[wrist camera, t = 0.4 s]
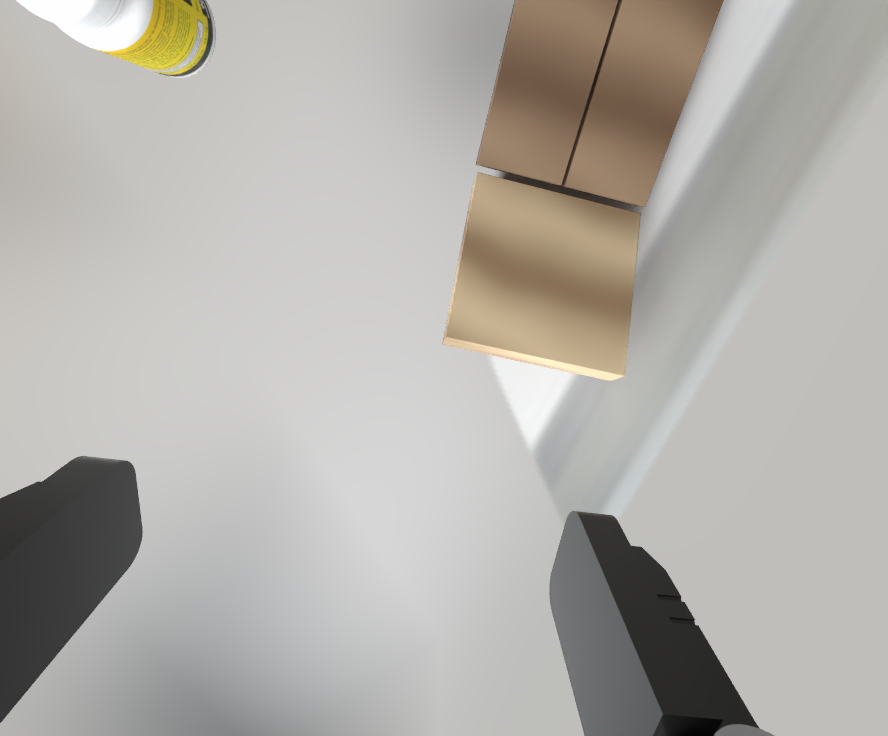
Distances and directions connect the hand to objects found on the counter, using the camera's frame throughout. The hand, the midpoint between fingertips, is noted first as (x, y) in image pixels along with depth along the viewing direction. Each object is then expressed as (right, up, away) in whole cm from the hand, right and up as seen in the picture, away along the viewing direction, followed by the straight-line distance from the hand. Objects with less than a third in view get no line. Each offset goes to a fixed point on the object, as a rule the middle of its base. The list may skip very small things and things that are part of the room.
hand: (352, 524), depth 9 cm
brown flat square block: (+9, +18, +17) cm, 26 cm away
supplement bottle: (-12, +21, +16) cm, 29 cm away
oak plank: (+7, +8, +18) cm, 20 cm away
